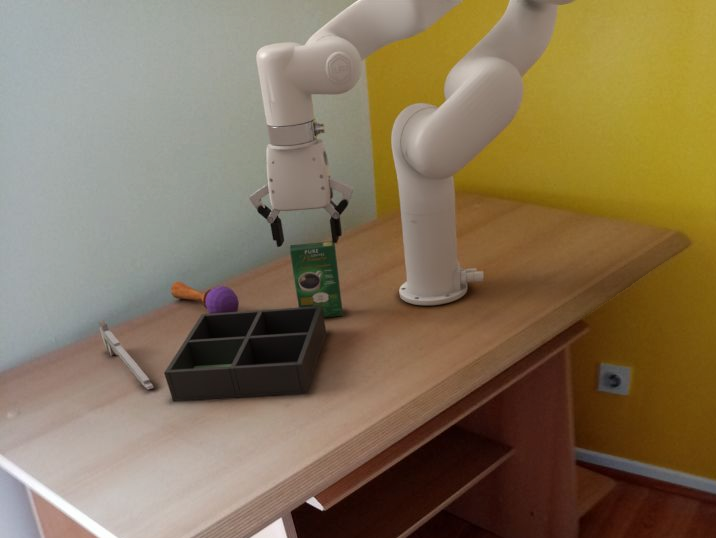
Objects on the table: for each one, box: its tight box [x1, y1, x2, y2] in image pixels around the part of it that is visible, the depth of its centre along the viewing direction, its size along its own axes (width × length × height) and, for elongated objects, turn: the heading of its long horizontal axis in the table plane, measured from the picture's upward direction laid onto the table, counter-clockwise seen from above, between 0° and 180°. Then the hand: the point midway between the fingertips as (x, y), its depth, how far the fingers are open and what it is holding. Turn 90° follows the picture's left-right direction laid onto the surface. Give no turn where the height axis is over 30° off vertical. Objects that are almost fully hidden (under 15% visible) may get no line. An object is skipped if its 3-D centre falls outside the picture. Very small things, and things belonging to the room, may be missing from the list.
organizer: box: [163, 306, 327, 402], centre depth 124 cm, size 21×21×5 cm
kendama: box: [170, 281, 240, 314], centre depth 146 cm, size 6×6×20 cm
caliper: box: [98, 320, 154, 391], centre depth 127 cm, size 20×1×6 cm, turn 35°
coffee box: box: [289, 240, 344, 319], centre depth 135 cm, size 8×3×13 cm, turn 93°
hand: (308, 242), depth 130 cm, fingers open, 9 cm apart
